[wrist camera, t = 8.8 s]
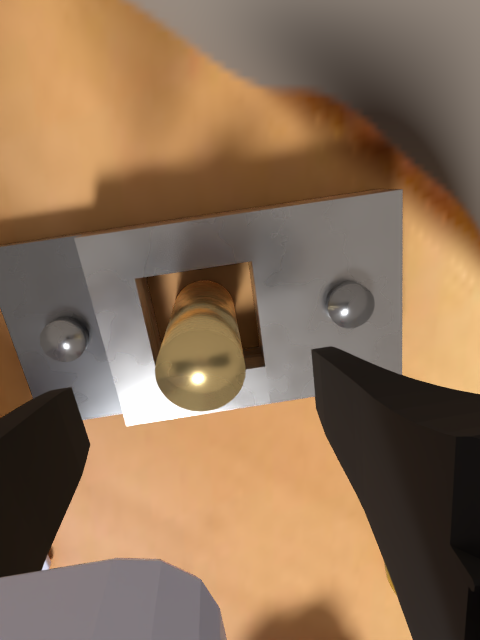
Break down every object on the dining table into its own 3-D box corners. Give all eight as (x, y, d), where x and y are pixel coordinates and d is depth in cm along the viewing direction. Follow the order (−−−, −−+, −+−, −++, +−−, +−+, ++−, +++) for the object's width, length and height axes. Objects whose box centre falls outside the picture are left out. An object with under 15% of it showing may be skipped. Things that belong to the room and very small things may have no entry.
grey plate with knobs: (52, 413, 21) (27, 448, 18) (-6, 246, 18) (-48, 257, 15) (381, 361, 21) (407, 388, 18) (378, 189, 18) (409, 189, 15)
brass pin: (181, 341, 20) (166, 418, 13) (168, 286, 19) (144, 339, 12) (238, 331, 20) (252, 402, 13) (228, 275, 19) (237, 322, 12)
